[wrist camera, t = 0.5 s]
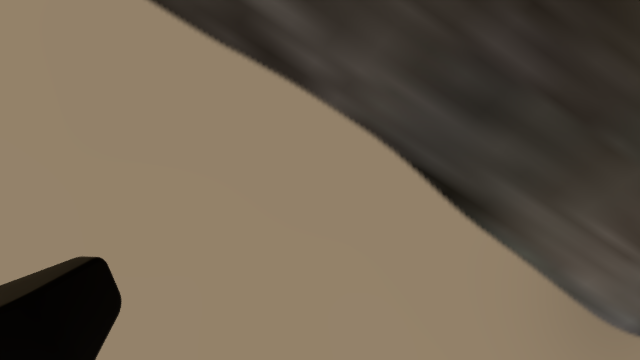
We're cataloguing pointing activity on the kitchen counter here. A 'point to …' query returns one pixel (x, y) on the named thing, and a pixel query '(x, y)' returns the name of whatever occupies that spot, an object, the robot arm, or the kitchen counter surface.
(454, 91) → the kitchen counter surface
